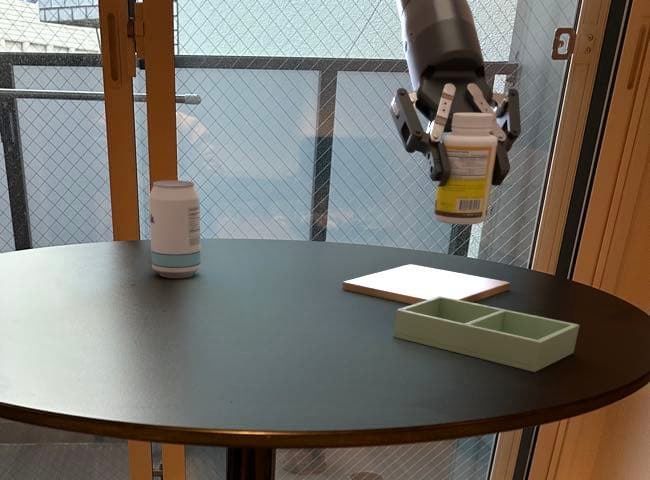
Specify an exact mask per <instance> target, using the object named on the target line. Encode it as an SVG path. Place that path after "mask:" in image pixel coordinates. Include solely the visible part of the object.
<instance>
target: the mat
mask: <svg viewBox="0 0 650 480" xmlns="http://www.w3.org/2000/svg"><path fill="white" fill-rule="evenodd" d="M510 288H511V282H510V281H506V280H505V281H504V280H499V279H493V278H488V277H482V276H477V275H471V274H466V273H462V272H455V271H449V270H445V269H438V268H433V267H428V266H423V265H417V264H412V263H410V264H406V265H401V266H397V267H395V268H390V269H386V270H383V271H379V272H374V273H371V274H367V275H363V276H360V277H356V278H353V279H349V280H344V281H342V288H341V289H342V290H344V291H348V292H354V293H358V294H363V295H367V296H372V297H375V298H380V299H385V300H388V301H393V302H398V303H399V302H400V303H403V304H408V305H413V304H416V303H419V302H422V301H426V300H429V299H432V298H435V297H438V296H442V297H446V298H451V299H456V300H461V301H466V302H471V303H475V302H478V301H481V300H484V299H486V298H489V297H492V296H496V295H498V294H501V293H504V292H507V291H509V290H510Z"/></svg>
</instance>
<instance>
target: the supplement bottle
mask: <svg viewBox="0 0 650 480" xmlns="http://www.w3.org/2000/svg"><path fill="white" fill-rule="evenodd" d="M492 122H493V114H489V113H454V114H453V120H452V124H451V126H452V128H451V130H452V131H453V132H452V133H448V134H446V135H444V137H442V139H441V143H444V145H445V149H446V153H447V158H448V162H449V166H450V177H449V179H448V181H447V182H446V184H445V186H444V187H437V186H436V193H435V200H434V201H435V203H434V211H433V216H434V218H435V220H436V221H437V222H439V223H443V224H448V225H449V224H450V225H461V226H463V225H464V226H465V225H466V226H467V225H469V226H471V225H479V224H481V223H483V222H485V220H486V219H487V217H488V211H489V204H490V196H491V191H492V178H493V171H494V164H495V157H496V150H497V143H498V140H497V138H496V137H495V136H494V135H490V134H489V132H490V131H491V130H492V128H491V127H492Z"/></svg>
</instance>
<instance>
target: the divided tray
mask: <svg viewBox="0 0 650 480" xmlns="http://www.w3.org/2000/svg"><path fill="white" fill-rule="evenodd" d="M393 328H394V329H393V338H396V339H401V340H405V341H407V342H408V341H409V342H413V343H416V344H421V345H424V346H428V347H433V348H436V349H440V350H445V351H448V352H453V353H457V354H461V355H464V356H468V357H471V358H472V357H473V358H477V359H481V360H485V361H488V362H493V363H495V364H501V365H505V366H509V367H512V368H516V369H520V370H525V371H529V372H533V373H537V372H538V371H540V370H542V369H544V368H545V367H548V366H550V365H552V364H554V363H556V362H558V361H560V360H562V359H564V358H566V357H568V356H570V355H572V354H574V352H575V347H576V343H577V338H578V335H579V334H578V333H579V329H580V324H577V323H573V322H567V321H563V320H559V319H558V320H557V319H554V318H553V319H552V318H548V317H544V316H538V315H534V314H528V313H525V312H520V311H519V312H518V311H514V310H509V309H504V308H500V307H495V306H489V305H485V304H479V303H475V302H472V303H471V302H466V301H461V300H456V299H451V298H446V297H442V296H438V297H435V298H432V299H429V300H426V301H422V302H419V303H416V304H413V305H412V304H409V305H406V306H404V307H400V308H398V309H396V310H395V318H394V327H393Z"/></svg>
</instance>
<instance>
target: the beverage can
mask: <svg viewBox="0 0 650 480" xmlns="http://www.w3.org/2000/svg"><path fill="white" fill-rule="evenodd" d="M152 185H153V186H152V189H151V191H150V193H149V195H148V208H149V209H148V210H149V213H148V214H149V229H150V231H149V232H150V250H151V253H150V255H151V268H152V269H153V270H154V271H155V272H157V273H158V274H159V276H160V277H163V278H167V279H186V278H190V277H193V276H194V275H195V274H196V272H198V271H199V270H200V269H201V268H202V257H201V255H202V254H201V250H202V249H201V205H200V203H201V202H200V201H201V197H200V195H199V193H198V191H197V189H196V187H195V182H193V181H190V180H189V181H188V180H158V181H154V182H153V184H152Z"/></svg>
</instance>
